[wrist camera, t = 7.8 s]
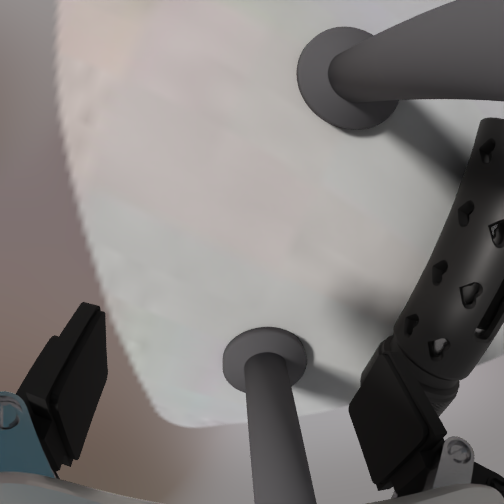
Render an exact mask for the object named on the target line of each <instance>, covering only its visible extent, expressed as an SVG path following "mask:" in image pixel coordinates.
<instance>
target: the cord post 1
mask: <svg viewBox="0 0 504 504" xmlns="http://www.w3.org/2000/svg"><path fill="white" fill-rule="evenodd" d="M306 365H307V358H306V354H305V351H304V348H303V345H302V343H301V341H300V340H299V339H298V338H297V337H296V336H295V335H294V334H292V333H290V332H288V331H286V330H283V329H280V328H275V327H261V328H255V329H251V330H248V331H245V332H243V333H241V334H240V335H238V336H236V337H235V338H234V339H233V340H232V341H231V342H230V343H229V344H228V345H227V347H226V349H225V351H224V354H223V373H224V376H225V378H226V380H227V381H228V382H229V383H230V384H231V385H232V386H233V387H234V388H236V389H238V390H240V391H242V392H245V393H246V403H247V416H248V429H249V441H250V454H251V466H252V478H253V489H254V501H255V504H316V499H315V495H314V489H313V485H312V480H311V476H310V471H309V466H308V462H307V457H306V452H305V448H304V443H303V439H302V434H301V429H300V425H299V420H298V416H297V411H296V406H295V402H294V397H293V393H292V388H291V386H292V385H294V384H295V383H296V382H297V381H298V380H299V379H300V378H301V377H302V375H303V373H304V372H305V369H306Z"/></svg>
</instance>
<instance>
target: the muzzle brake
mask: <svg viewBox="0 0 504 504" xmlns="http://www.w3.org/2000/svg"><path fill="white" fill-rule="evenodd" d="M496 224H498V225H497V228H496V229H495V230H494V235H492V230H491V227H492V226H494V225H496ZM503 323H504V119H500V118H491V117H490V118H485V119H483V120H481V122H480V125H479V128H478V132H477V135H476V139H475V143H474V146H473V149H472V153H471V156H470V159H469V162H468V164H467V167H466V170H465V173H464V176H463V179H462V182H461V184H460V187H459V190H458V192H457V195H456V198H455V201H454V204H453V206H452V209H451V211H450V214H449V216H448V218H447V220H446V223H445V225H444V227H443V230H442V232H441V234H440V237H439V239H438V241H437V243H436V246H435V248H434V250H433V253H432V255H431V257H430V259H429V261H428V263H427V265H426V267H425V269H424V271H423V273H422V275H421V277H420V279H419V281H418V283H417V285H416V287H415V289H414V291H413V293H412V294H411V296H410V298H409V301H408V302H407V304H406V306H405V308H404V310H403V311H402V313H401V315H400V316H399V318H398V320H397V322H396V323H395V326H394V335H393V336H390V337H388V338H387V339H386V340H384V341H383V342H382V343H380V345H379V347H378V348H377V350H376V351H375V353H374V355H373V356H372V358H371V359H370V361H369V362H368V364H367V366H366V367H365V369H364V370H363V372H362V375H361V380H360V382H361V385H362V383H363V382H364V380H365V378H366V377H367V375H368V373H369V372H370V370H371V368H372V366H373V365H374V363H375V361H376V359H377V358H378V356H379V355H382V353H383V352H385V351H393V352H400V353H401V354H402V356H403V357H404V359H405V361H406V362H407V364H408V365H409V367H410V369H411V370H412V372H413V374H414V375H415V377H416V379H417V380H418V382H419V384H420V385H421V387H422V389H423V391H424V392H425V394H426V396H427V397H428V399H429V401H430V403H431V404H432V406H433V408H434V410H435V411H436V413H437V415H438V417H439V416H440V415H441V414H442V412H443V411H444V410H445V409H446V408H447V407H448V405H449V404H450V403H451V402H452V400H453V399H454V398H455V397H456V394H457V392H458V388H459V380H462V379H464V378H466V377H467V376H468V375H469V374H470V372H471V371H472V370H473V369H474V367H475V366H476V364H477V363H478V361H479V360H480V359H481V357H482V356H483V354H484V353H485V351H486V350H487V348H488V347H489V345H490V344H491V342H492V340H493V339H494V337H495V336H496V334H497V332H498V331H499V329H500V328H501V326H502V324H503Z"/></svg>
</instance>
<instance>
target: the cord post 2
mask: <svg viewBox="0 0 504 504" xmlns="http://www.w3.org/2000/svg"><path fill="white" fill-rule="evenodd" d="M297 82H298V86H299V90H300V92H301V95H302V97H303V99H304V101H305V102H306V104H307V105H308V106H309V108H310V109H311V110H312V111H313V112H314V113H315V114H316V115H317V116H318V117H320V118H321V119H323V120H324V121H326V122H328V123H330V124H332V125H335V126H337V127H341V128H348V129H367V128H371V127H374V126H376V125H378V124H380V123H382V122H383V121H385V120H386V119H387V118H388V117H389V116H390V115H391V114H392V113H393V111H394V110H395V108H396V106H397V104H398V102H399V100H410V99H472V100H492V101H504V0H456V1H453V2H450V3H447V4H445V5H442V6H440V7H437V8H435V9H432V10H430V11H427V12H425V13H422V14H420V15H418V16H415V17H413V18H411V19H409V20H406V21H404V22H402V23H400V24H397V25H395V26H393V27H391V28H389V29H387V30H385V31H383V32H380V33H378V34H376V35H374V36H373V35H372V34H370V33H368V32H366V31H363V30H360V29H357V28H353V27H336V28H331V29H328V30H326V31H324V32H322V33H320V34H319V35H317V36H316V37H315V38H313V39H312V40H311V41H310V42H309V43H308V44H307V45H306V47H305V48H304V49H303V51H302V53H301V55H300V58H299V61H298V65H297Z"/></svg>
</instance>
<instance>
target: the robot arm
mask: <svg viewBox="0 0 504 504" xmlns="http://www.w3.org/2000/svg"><path fill="white" fill-rule="evenodd" d="M107 375H108V369H107V352H106V326H105V312H102V311H100V307H99V306H97V305H93V304H89V303H85V302H83V303H81V305H80V306H79V307H78V309H77V311H76V312H75V313H74V315H73V316H72V318H71V319H70V321H69V322H68V324H67V325H66V327H65V328H64V330H63V331H62V333H61V334H60V336H59V337H58V336H52V337H51V338H50V339H49V341H48V342H47V344H46V345H45V347H44V349H43V350H42V352H41V353H40V355H39V356H38V358H37V360H36V361H35V363H34V365H33V366H32V368H31V369H30V371H29V372H28V374H27V376H26V377H25V379H24V381H23V382H22V384H21V386H20V388H19V389H18V391H17V393H16V394H14V393H11V392H6V391H2V392H0V504H163V503H157V502H151V501H146V500H141V499H136V498H131V497H127V496H122V495H118V494H114V493H110V492H106V491H102V490H98V489H95V488H91V487H87V486H83V485H79V484H75V483H72V482H68V481H64V480H60V478H59V476H58V474H57V471H58V470H60V467H61V465H62V464H64V465H67V466H70V467H71V464H72V461H73V459H75V460H78V459H79V457H80V454H81V451H82V448H83V445H84V442H85V439H86V436H87V433H88V430H89V427H90V424H91V421H92V418H93V415H94V412H95V410H96V407H97V404H98V401H99V399H100V396H101V393H102V391H103V388H104V386H105V383H106V380H107ZM349 414H350V417H351V420H352V423H353V426H354V428H355V431H356V434H357V437H358V440H359V443H360V446H361V449H362V452H363V455H364V458H365V461H366V464H367V467H368V470H369V473H370V476H371V479H372V481H373V483H374V484H376V485H377V488H378V491H380V490H385V489H390V488H391V487H394V490H395V491H394V493H393V495H392V497H391V499H389V500H383V501H378V502H373V503H367V504H504V478H503V477H502V476H500V475H499V474H497V473H495V472H493V471H491V470H489V469H487V468H485V467H483V466H481V465H480V464H478V463H476V462H474V451H473V449H472V447H471V446H470V444H469V443H468V442H467V441H465V440H464V439H462V438H460V437H455V436H453V437H449V438H448V439H447V440H445V441H444V439H443V437H444V436H445V435H446V434H447V431H446V429H445V428H444V426H443V424H442V422H441V420H440V419H439V417H438V415H437V413H436V411H435V410H434V408H433V406H432V404H431V403H430V401H429V399H428V397H427V396H426V394H425V392H424V391H423V389H422V387H421V385H420V384H419V382H418V380H417V379H416V377H415V375H414V374H413V372H412V370H411V369H410V367H409V365H408V364H407V362H406V361H405V359H404V357H403V356H402V354H401V353H400V352H393V351H385V352H383V353H382V355H379V356H378V358H377V359H376V361H375V363H374V365H373V366H372V368H371V370H370V372H369V373H368V375H367V377H366V378H365V380H364V382H363V383H362V385H361V387H360V388H359V390H358V391H357V393H356V395H355V396H354V398H353V399H352V401H351V402H350V404H349Z"/></svg>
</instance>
